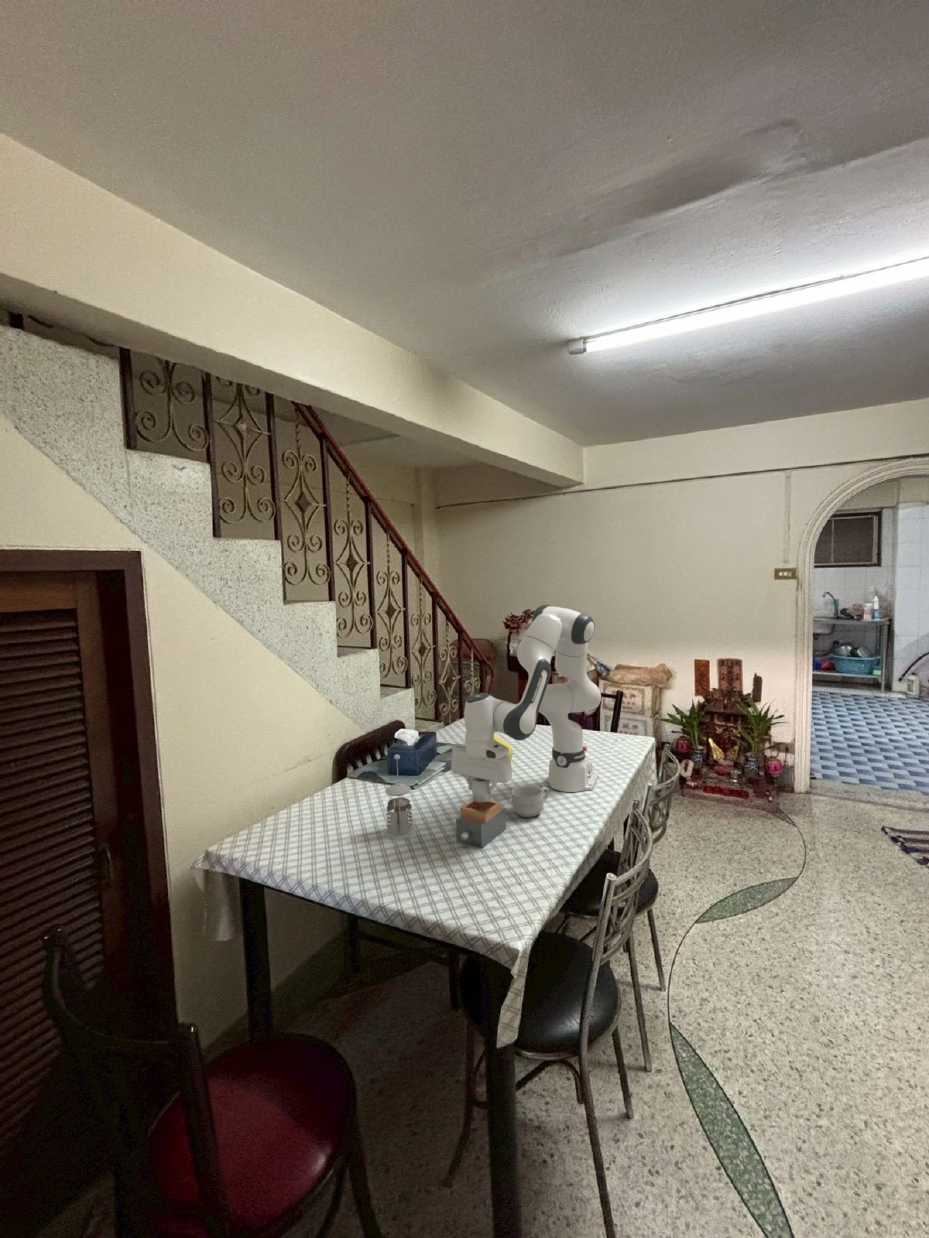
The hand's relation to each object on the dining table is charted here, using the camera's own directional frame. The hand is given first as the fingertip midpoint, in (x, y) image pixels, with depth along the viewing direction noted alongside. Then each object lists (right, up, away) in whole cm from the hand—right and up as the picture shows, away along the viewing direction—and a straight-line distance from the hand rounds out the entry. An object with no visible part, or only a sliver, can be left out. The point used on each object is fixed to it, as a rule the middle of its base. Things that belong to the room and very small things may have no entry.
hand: (481, 791), depth 166 cm
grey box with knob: (-1, -14, 0) cm, 14 cm away
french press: (-26, -15, +5) cm, 30 cm away
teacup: (+18, -13, +16) cm, 27 cm away
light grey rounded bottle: (0, -2, 0) cm, 2 cm away
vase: (+6, -10, +57) cm, 58 cm away
